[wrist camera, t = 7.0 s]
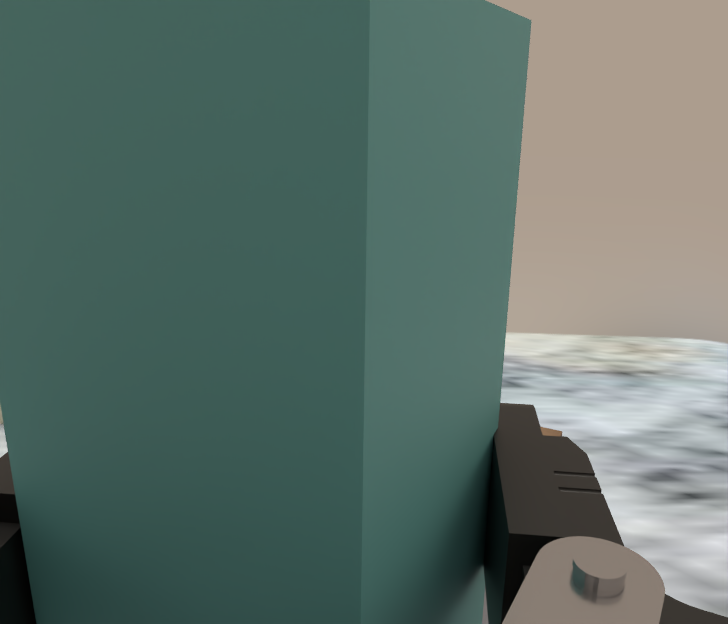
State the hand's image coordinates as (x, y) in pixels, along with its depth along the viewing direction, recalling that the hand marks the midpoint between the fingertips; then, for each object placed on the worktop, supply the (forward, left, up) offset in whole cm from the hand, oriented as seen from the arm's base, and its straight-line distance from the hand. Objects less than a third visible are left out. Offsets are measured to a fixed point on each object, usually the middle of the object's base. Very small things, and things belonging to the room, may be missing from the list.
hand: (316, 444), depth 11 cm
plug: (+1, -2, -8) cm, 9 cm away
